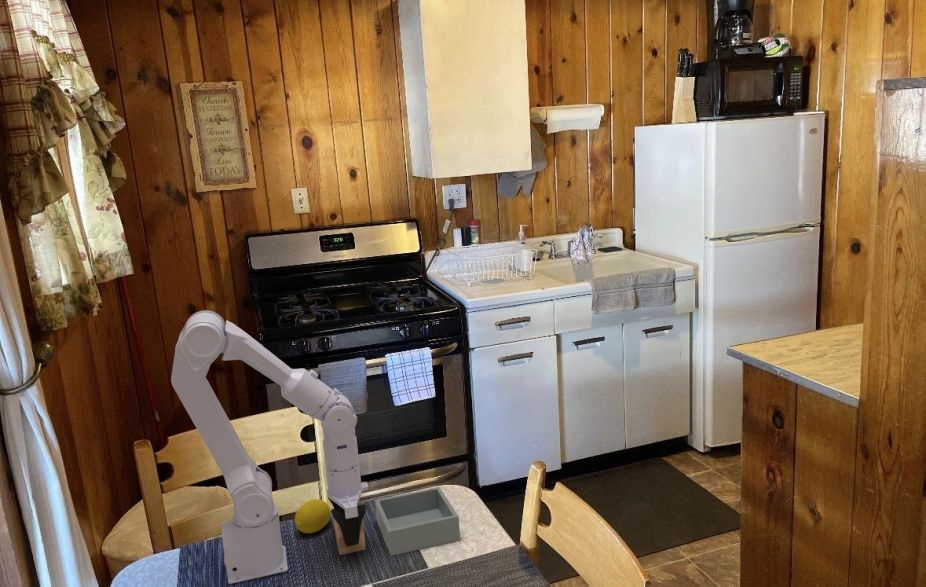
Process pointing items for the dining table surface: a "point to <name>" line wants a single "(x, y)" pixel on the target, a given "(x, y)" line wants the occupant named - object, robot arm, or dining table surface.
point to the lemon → (312, 516)
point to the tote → (417, 521)
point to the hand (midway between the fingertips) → (350, 537)
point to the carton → (341, 544)
